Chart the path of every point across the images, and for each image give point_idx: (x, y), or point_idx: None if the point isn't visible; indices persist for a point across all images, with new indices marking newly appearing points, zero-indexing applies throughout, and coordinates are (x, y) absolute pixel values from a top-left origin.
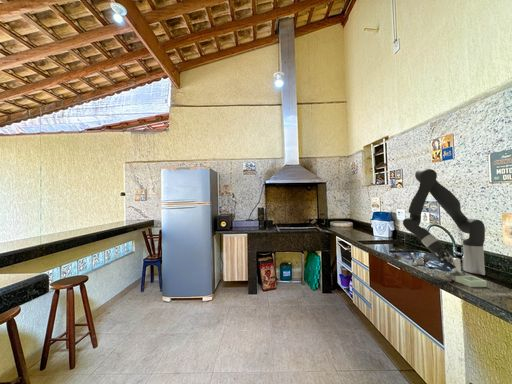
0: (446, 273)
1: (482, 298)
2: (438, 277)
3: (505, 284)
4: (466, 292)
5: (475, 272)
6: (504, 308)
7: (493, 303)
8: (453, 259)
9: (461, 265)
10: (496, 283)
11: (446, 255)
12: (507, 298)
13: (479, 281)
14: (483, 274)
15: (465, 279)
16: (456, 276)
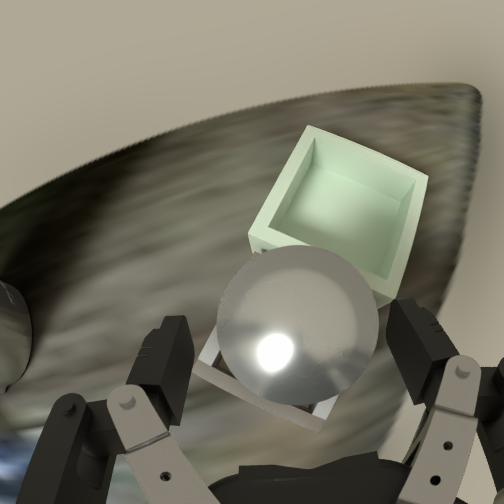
0: (325, 414)
1: (465, 137)
2: (324, 460)
3: (108, 159)
4: (469, 196)
5: (18, 312)
6: (468, 87)
7: (467, 108)
8: (372, 334)
9: (172, 318)
10: (120, 184)
11: (426, 463)
12: (363, 87)
13: (360, 146)
14: (7, 284)
15: (418, 207)
16: (397, 288)
